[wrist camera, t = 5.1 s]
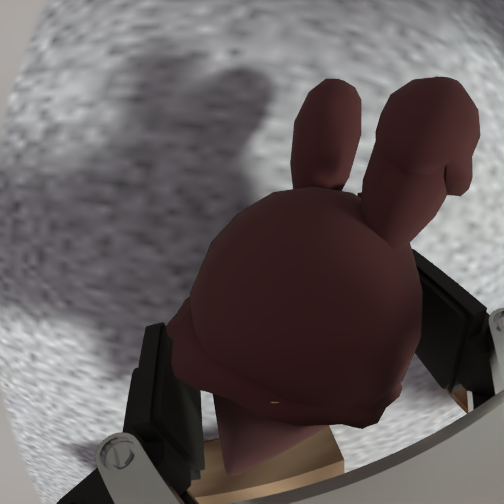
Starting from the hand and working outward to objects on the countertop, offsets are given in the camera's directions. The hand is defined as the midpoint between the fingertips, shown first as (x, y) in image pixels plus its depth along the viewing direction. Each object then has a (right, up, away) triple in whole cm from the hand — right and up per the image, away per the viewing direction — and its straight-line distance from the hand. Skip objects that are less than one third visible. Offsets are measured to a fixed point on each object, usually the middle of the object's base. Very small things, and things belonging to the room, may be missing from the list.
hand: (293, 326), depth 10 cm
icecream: (0, +2, +2) cm, 2 cm away
